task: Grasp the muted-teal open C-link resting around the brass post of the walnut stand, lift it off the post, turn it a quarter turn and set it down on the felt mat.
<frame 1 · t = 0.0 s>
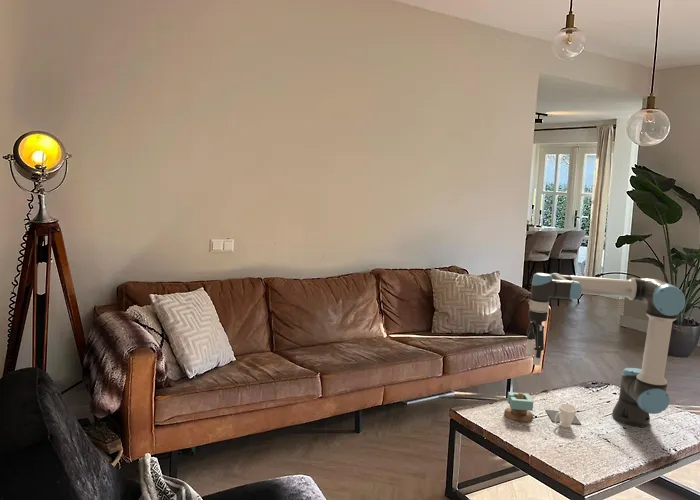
hand: (532, 359, 247), 28 cm above the table, fingers open, 13 cm apart
cup: (562, 425, 250), on the table
mat: (562, 417, 258), on the table
link: (519, 405, 256), point 5 cm above the table, touching stand
stand: (518, 416, 256), on the table
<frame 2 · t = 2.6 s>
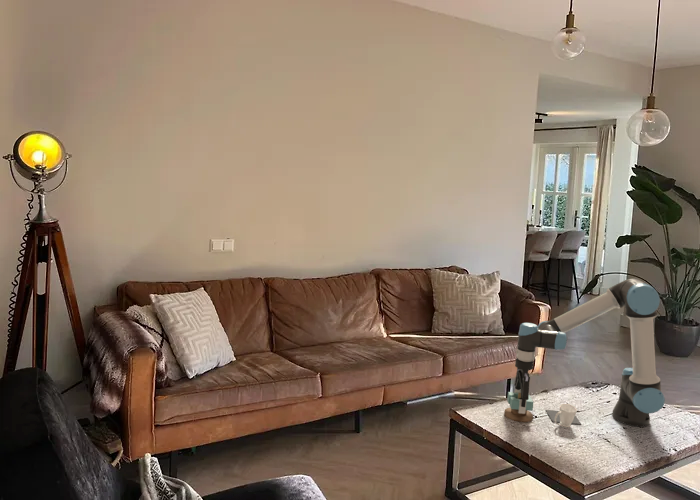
hand: (519, 408, 256), 4 cm above the table, fingers closed on link, 9 cm apart
cup: (562, 425, 250), on the table, touching mat
link: (519, 405, 256), point 5 cm above the table, touching gripper, stand
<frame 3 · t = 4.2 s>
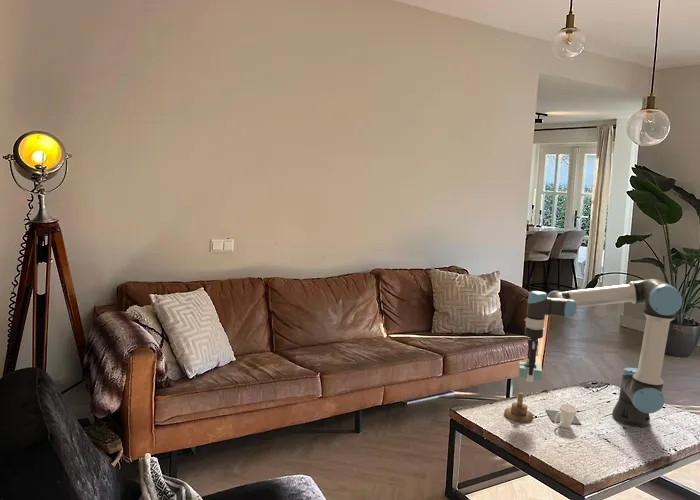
hand: (529, 377, 254), 18 cm above the table, fingers closed on link, 9 cm apart
link: (529, 374, 254), point 19 cm above the table, touching gripper
everything else where it was.
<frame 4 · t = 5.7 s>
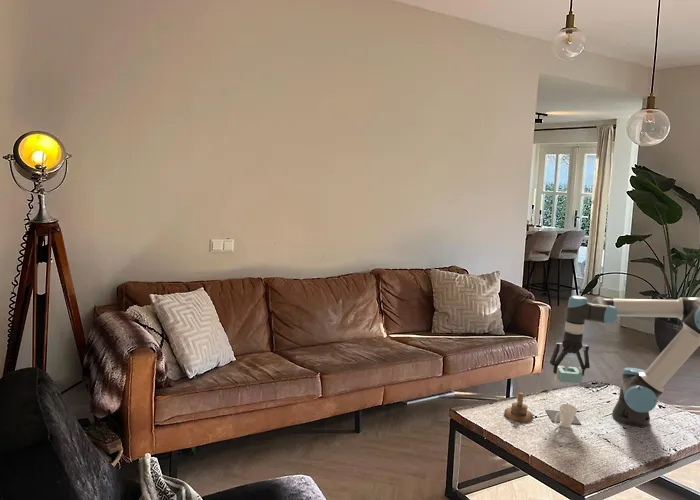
hand: (567, 381, 256), 17 cm above the table, fingers closed on link, 9 cm apart
link: (567, 378, 256), point 18 cm above the table, touching gripper
everything else where it was.
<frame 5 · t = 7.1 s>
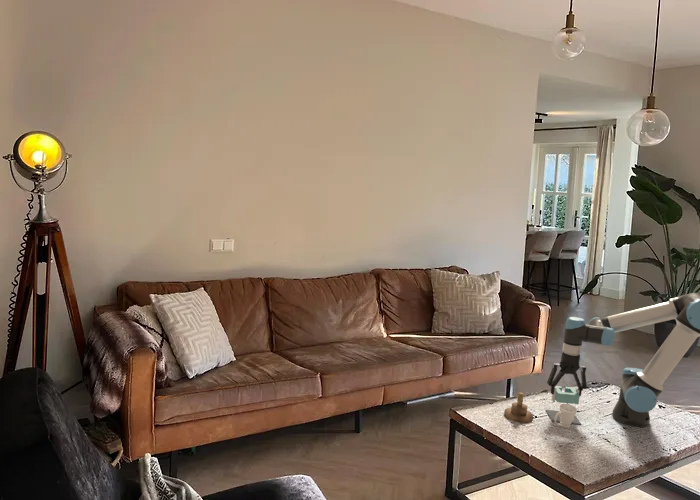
hand: (564, 402, 257), 7 cm above the table, fingers closed on link, 9 cm apart
link: (564, 399, 257), point 9 cm above the table, touching gripper
everything else where it was.
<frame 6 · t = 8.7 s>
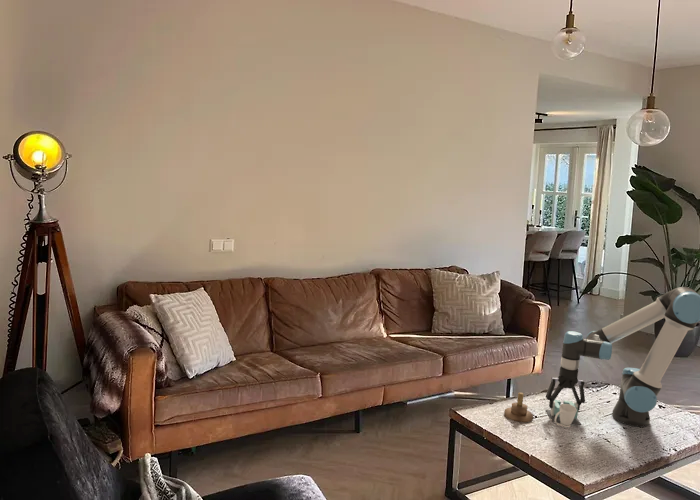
hand: (563, 416, 258), 1 cm above the table, fingers closed on link, mat, 9 cm apart
link: (563, 413, 258), point 2 cm above the table, touching gripper
everything else where it was.
when the fingers open (1 cm above the table, at t = 8.9 s): link drops 2 cm, resting on mat.
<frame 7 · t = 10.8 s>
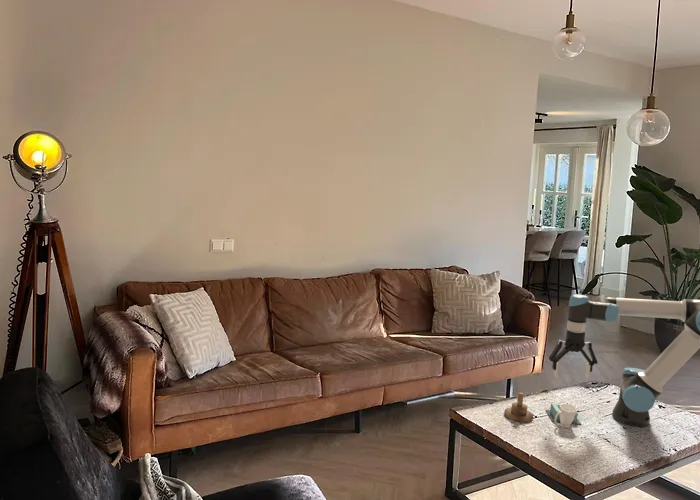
hand: (571, 377, 256), 18 cm above the table, fingers open, 13 cm apart
link: (563, 416, 258), resting on mat
everything else where it was.
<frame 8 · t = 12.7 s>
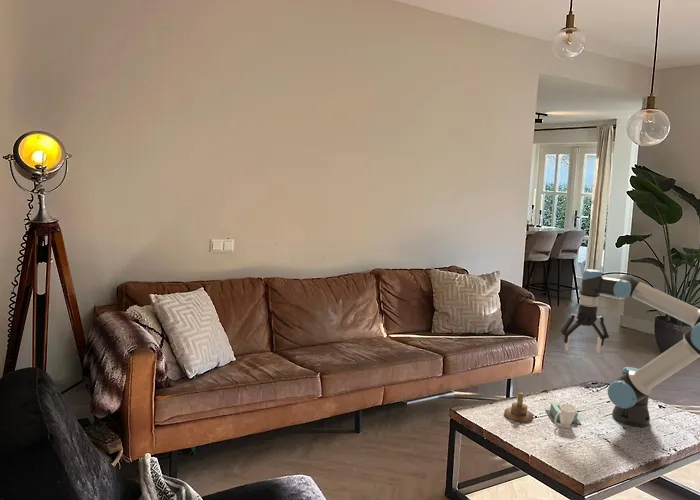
hand: (582, 351, 260), 29 cm above the table, fingers open, 13 cm apart
nothing on the table moved.
at the end: link inside the target area on the mat (0.0 cm from its centre), point 0.5 cm above the mat's base; link tilted 0°; the gripper is holding nothing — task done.
